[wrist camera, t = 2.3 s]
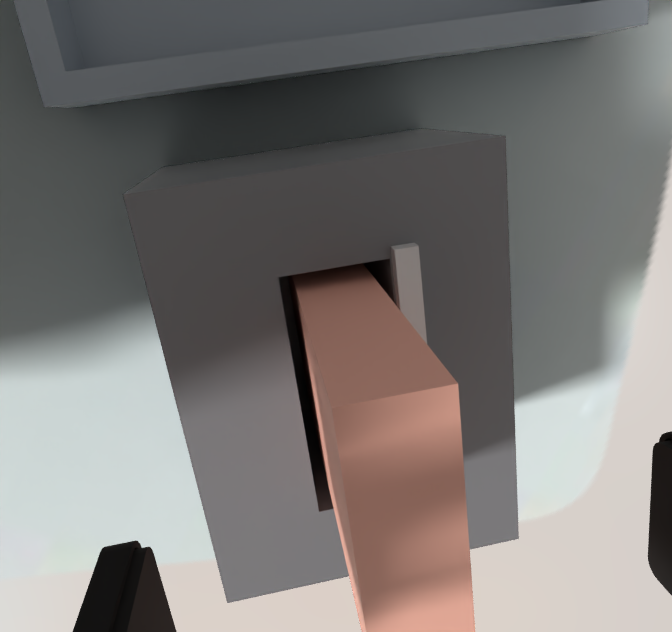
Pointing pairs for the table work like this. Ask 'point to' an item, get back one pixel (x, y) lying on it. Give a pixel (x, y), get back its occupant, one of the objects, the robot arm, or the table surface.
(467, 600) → the salmon pink rectangular block
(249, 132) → the table surface
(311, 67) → the tray
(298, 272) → the dispenser
